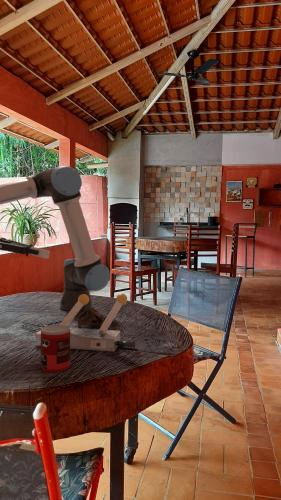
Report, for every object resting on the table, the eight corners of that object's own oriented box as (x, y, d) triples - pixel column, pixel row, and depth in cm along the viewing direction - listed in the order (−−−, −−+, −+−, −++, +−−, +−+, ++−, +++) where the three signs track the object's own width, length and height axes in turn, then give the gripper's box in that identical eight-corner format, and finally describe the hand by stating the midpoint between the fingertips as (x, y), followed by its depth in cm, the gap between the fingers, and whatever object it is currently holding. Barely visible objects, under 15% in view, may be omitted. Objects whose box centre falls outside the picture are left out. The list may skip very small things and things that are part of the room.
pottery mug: (104, 333, 139) (93, 315, 137) (82, 342, 141) (71, 325, 138) (108, 316, 150) (98, 300, 148) (87, 325, 152) (77, 309, 150)
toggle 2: (98, 327, 125) (121, 290, 123) (107, 333, 125) (130, 296, 123) (94, 331, 121) (118, 292, 119) (104, 337, 120) (127, 298, 118)
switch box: (47, 337, 131) (47, 326, 131) (137, 343, 126) (138, 332, 125) (35, 346, 121) (35, 334, 121) (132, 353, 116) (132, 340, 116)
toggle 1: (58, 324, 127) (84, 290, 125) (66, 331, 127) (92, 297, 125) (53, 328, 123) (80, 293, 121) (62, 335, 123) (89, 300, 120)
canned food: (43, 362, 108) (43, 324, 107) (71, 361, 109) (71, 324, 108) (38, 373, 101) (38, 332, 100) (68, 372, 101) (68, 332, 100)
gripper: (-13, 248, 136) (51, 262, 136) (-29, 251, 123) (41, 268, 124) (-9, 227, 135) (55, 242, 136) (-25, 229, 122) (46, 245, 123)
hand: (48, 254), depth 130 cm, fingers closed
